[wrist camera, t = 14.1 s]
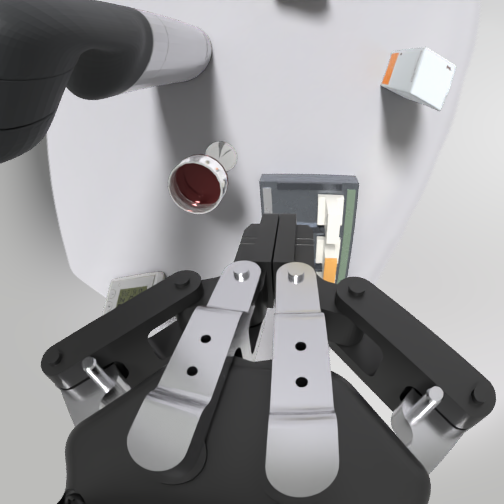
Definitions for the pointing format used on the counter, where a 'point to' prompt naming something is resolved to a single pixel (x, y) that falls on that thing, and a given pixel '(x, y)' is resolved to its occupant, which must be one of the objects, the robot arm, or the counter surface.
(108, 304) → the digital clock
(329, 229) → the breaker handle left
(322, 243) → the breaker handle
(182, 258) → the counter surface
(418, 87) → the skincare box
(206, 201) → the wineglass
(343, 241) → the breaker panel
